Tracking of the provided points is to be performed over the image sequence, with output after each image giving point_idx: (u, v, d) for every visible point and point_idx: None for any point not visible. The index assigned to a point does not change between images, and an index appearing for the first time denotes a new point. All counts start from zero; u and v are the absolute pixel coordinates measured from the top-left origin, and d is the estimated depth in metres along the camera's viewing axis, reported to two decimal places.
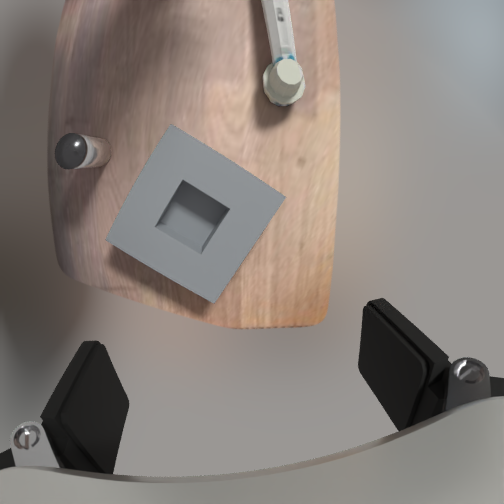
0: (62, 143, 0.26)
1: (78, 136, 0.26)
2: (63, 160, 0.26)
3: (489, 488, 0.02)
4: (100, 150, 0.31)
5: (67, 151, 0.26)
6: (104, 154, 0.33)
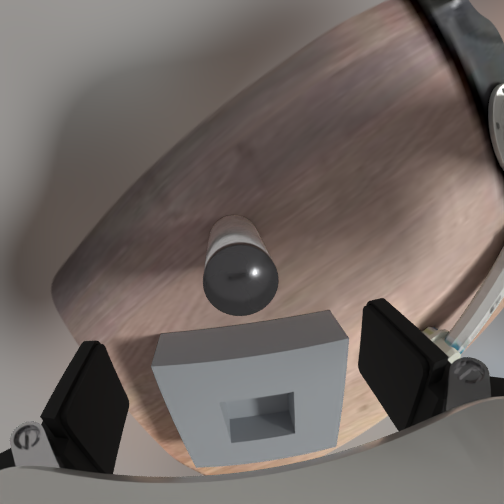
0: (243, 258, 0.15)
1: (276, 280, 0.16)
2: (216, 283, 0.16)
3: (489, 488, 0.02)
4: None
5: (237, 279, 0.16)
6: None
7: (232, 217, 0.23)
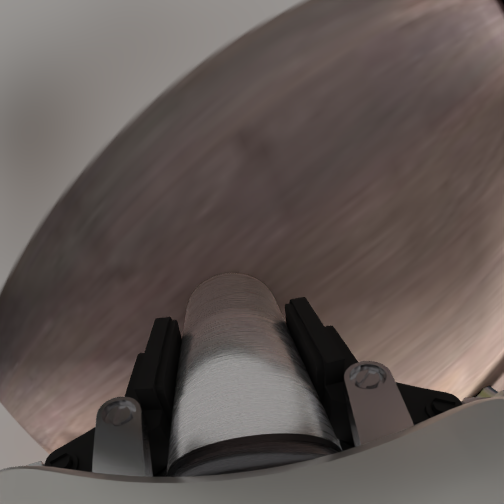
0: None
1: None
2: None
3: (489, 488, 0.02)
4: None
5: None
6: None
7: (229, 282, 0.11)
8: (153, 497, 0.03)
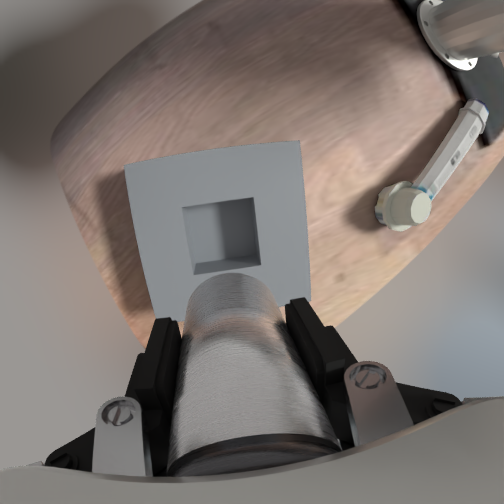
0: None
1: None
2: None
3: (489, 488, 0.02)
4: None
5: None
6: None
7: (229, 282, 0.11)
8: (153, 497, 0.03)
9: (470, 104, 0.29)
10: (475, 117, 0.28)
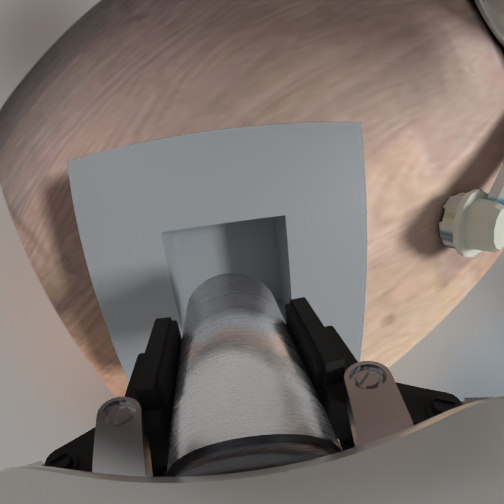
0: None
1: None
2: None
3: (489, 488, 0.02)
4: None
5: None
6: None
7: (229, 282, 0.11)
8: (153, 497, 0.03)
9: None
10: None
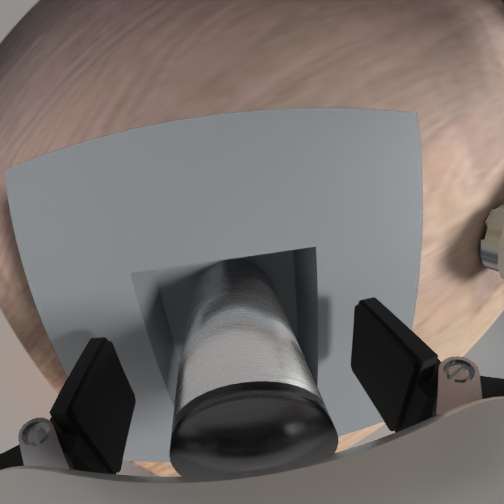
0: (264, 426, 0.05)
1: (332, 447, 0.06)
2: (200, 461, 0.06)
3: (489, 488, 0.02)
4: None
5: (248, 457, 0.06)
6: None
7: (231, 267, 0.13)
8: (153, 497, 0.03)
9: None
10: None
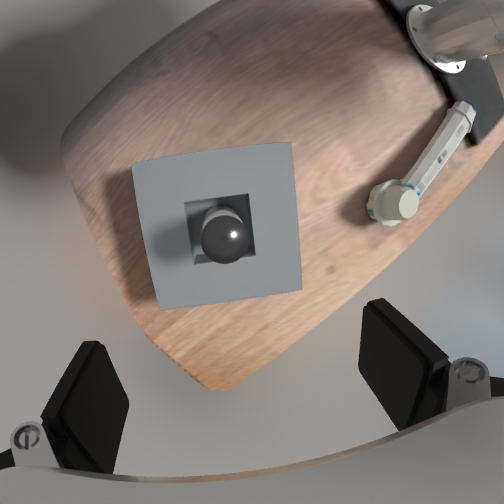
0: (226, 224, 0.24)
1: (247, 239, 0.25)
2: (209, 240, 0.24)
3: (489, 488, 0.02)
4: None
5: (222, 238, 0.24)
6: None
7: (220, 205, 0.32)
8: (153, 497, 0.03)
9: (457, 105, 0.31)
10: (462, 117, 0.30)
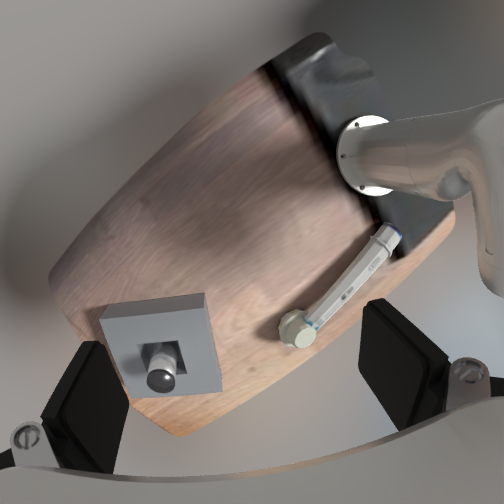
0: (160, 376, 0.36)
1: (174, 383, 0.37)
2: (151, 382, 0.36)
3: (489, 488, 0.02)
4: None
5: (159, 382, 0.36)
6: None
7: None
8: (153, 497, 0.03)
9: (381, 231, 0.43)
10: (380, 248, 0.42)
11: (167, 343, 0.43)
